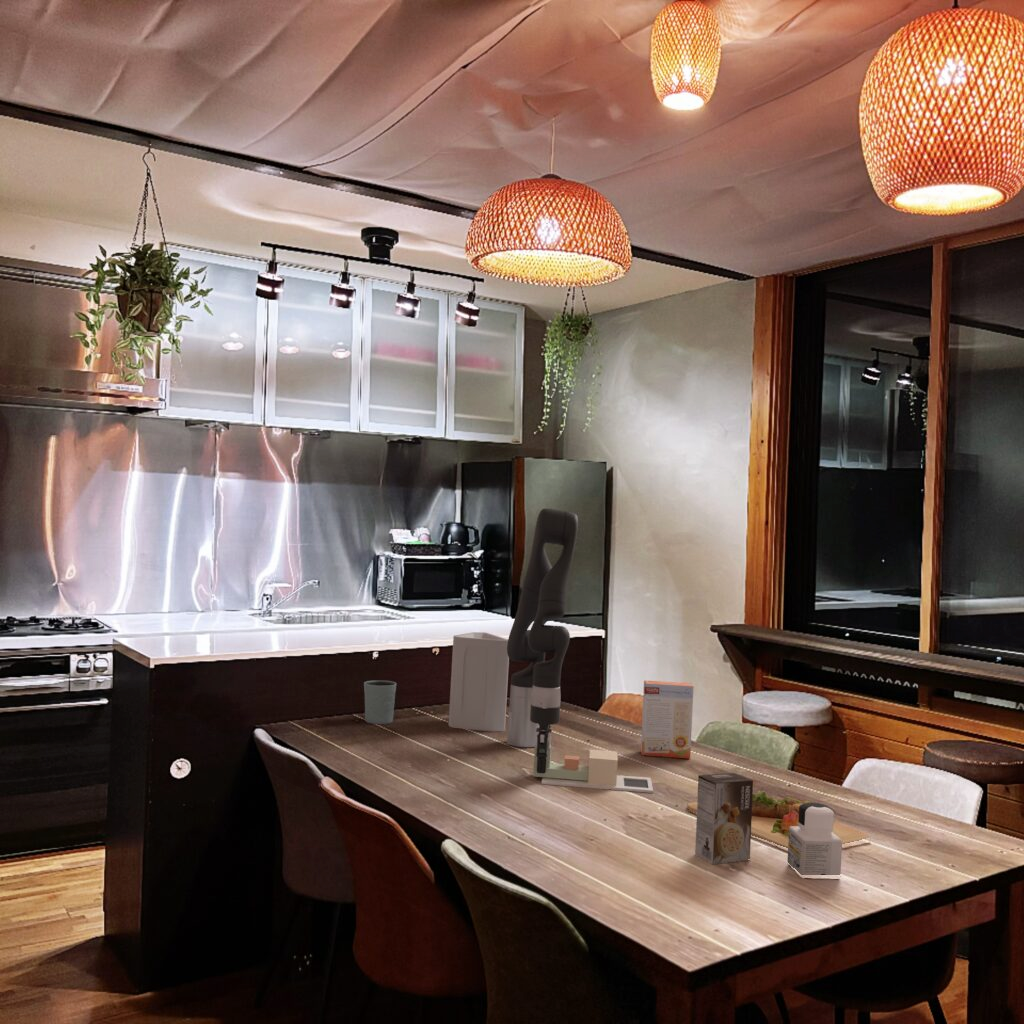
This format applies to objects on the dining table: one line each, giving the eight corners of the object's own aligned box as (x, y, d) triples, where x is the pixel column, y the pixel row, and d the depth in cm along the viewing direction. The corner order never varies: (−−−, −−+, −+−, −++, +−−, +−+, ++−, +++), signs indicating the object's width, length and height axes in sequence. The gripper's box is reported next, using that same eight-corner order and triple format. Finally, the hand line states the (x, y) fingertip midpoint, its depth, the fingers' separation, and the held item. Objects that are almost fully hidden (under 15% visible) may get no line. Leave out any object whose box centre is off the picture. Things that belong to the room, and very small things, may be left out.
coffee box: (731, 850, 197) (735, 771, 197) (750, 861, 191) (755, 780, 191) (693, 854, 193) (697, 774, 193) (712, 865, 187) (716, 783, 187)
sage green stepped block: (532, 776, 242) (534, 747, 242) (534, 770, 248) (536, 742, 248) (588, 780, 241) (590, 752, 241) (588, 774, 246) (590, 746, 246)
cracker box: (688, 754, 279) (692, 682, 279) (690, 759, 273) (694, 686, 273) (640, 750, 280) (643, 679, 280) (640, 755, 274) (644, 682, 274)
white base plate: (541, 783, 239) (543, 755, 239) (544, 771, 251) (545, 744, 251) (653, 793, 236) (654, 764, 236) (650, 780, 248) (652, 753, 248)
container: (786, 864, 190) (790, 799, 190) (824, 865, 191) (827, 800, 191) (801, 879, 182) (805, 811, 182) (841, 880, 183) (844, 812, 183)
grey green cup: (391, 725, 295) (394, 686, 296) (359, 723, 296) (361, 684, 296) (396, 718, 306) (398, 680, 306) (364, 716, 306) (366, 679, 306)
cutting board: (874, 844, 207) (876, 810, 208) (800, 860, 195) (802, 823, 195) (753, 800, 237) (754, 769, 237) (682, 811, 224) (684, 779, 224)
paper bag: (438, 719, 307) (443, 632, 307) (480, 717, 314) (485, 632, 314) (461, 733, 290) (466, 640, 290) (505, 730, 296) (510, 640, 297)
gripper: (532, 697, 252) (529, 761, 252) (528, 707, 238) (525, 775, 238) (561, 699, 252) (558, 763, 251) (558, 710, 237) (555, 778, 237)
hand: (541, 769), depth 245 cm, fingers closed on sage green stepped block, 6 cm apart
